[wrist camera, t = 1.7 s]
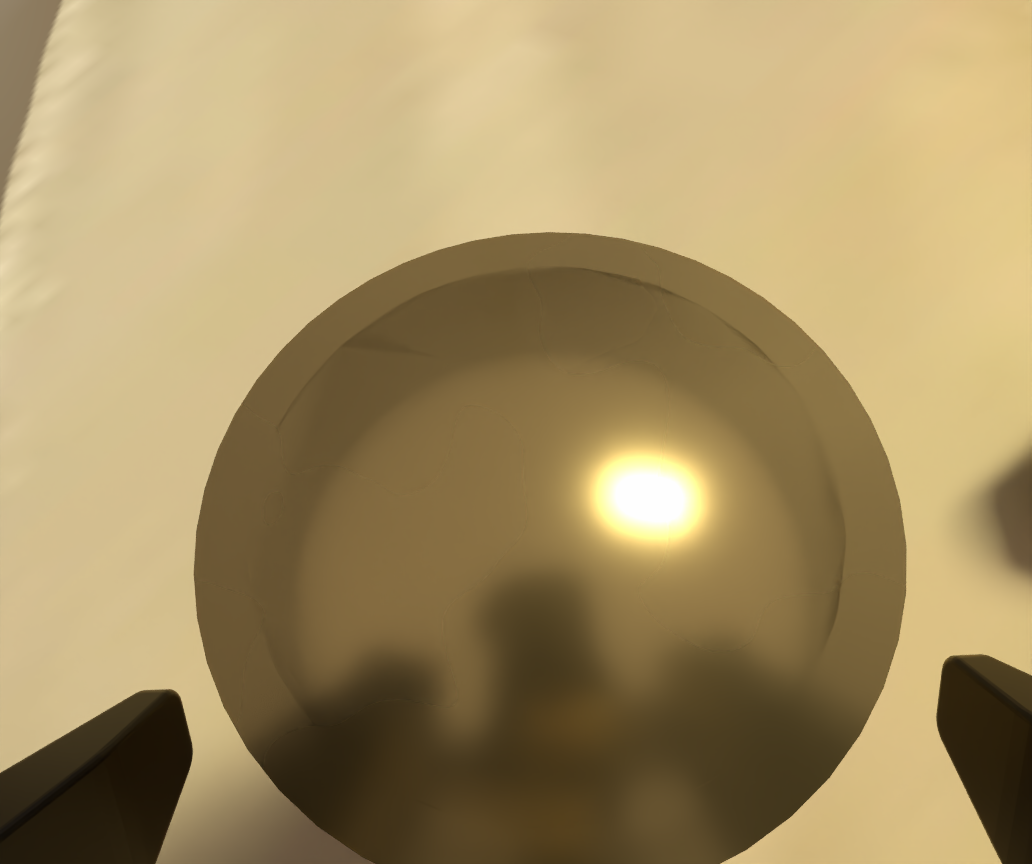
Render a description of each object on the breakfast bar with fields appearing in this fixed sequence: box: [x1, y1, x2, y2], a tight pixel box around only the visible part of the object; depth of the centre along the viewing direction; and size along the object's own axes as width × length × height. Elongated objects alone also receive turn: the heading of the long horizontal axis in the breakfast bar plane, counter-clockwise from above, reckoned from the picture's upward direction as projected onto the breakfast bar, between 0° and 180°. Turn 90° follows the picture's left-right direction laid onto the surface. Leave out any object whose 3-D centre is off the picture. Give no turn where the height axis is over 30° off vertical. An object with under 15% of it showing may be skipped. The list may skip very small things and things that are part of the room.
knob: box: [194, 232, 906, 864], centre depth 11 cm, size 5×5×13 cm
